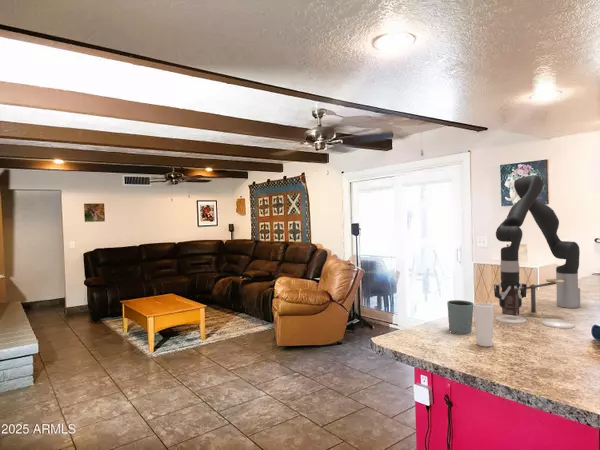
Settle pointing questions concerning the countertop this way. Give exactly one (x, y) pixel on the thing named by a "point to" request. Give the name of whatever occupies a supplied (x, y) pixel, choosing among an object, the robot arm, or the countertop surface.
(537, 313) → the balance
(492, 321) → the drinking glass
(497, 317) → the dish low side
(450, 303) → the green cup
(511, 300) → the box
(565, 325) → the dish high side
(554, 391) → the countertop surface
